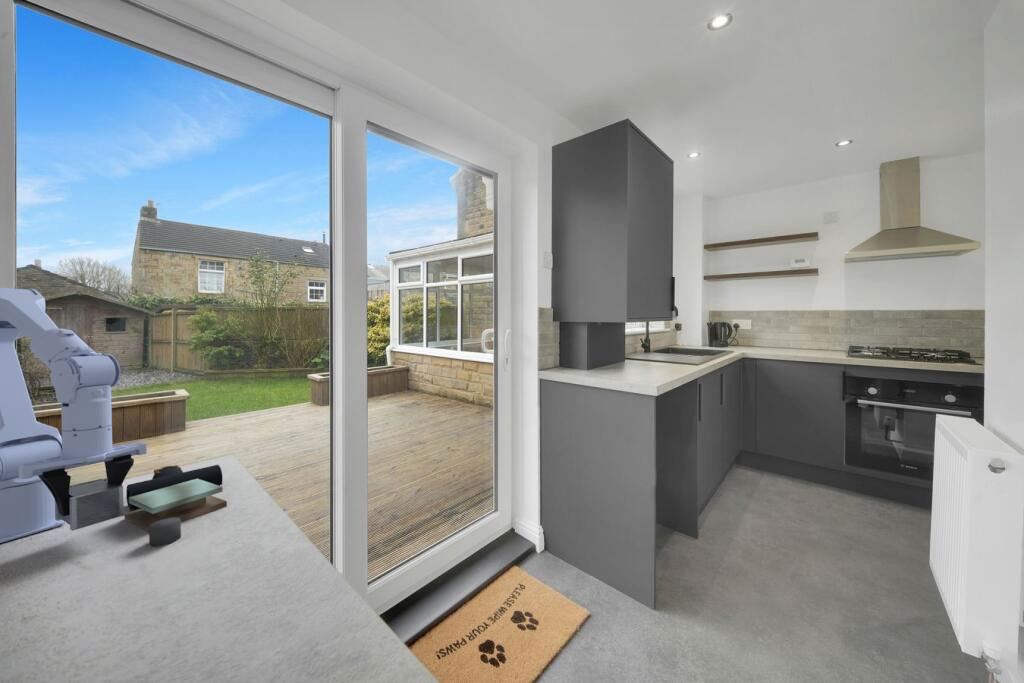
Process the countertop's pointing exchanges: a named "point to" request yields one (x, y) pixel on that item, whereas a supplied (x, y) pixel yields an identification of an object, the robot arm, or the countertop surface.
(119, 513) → the housing
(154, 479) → the pipe connector
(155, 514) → the stand
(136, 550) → the countertop surface
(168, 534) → the knob
